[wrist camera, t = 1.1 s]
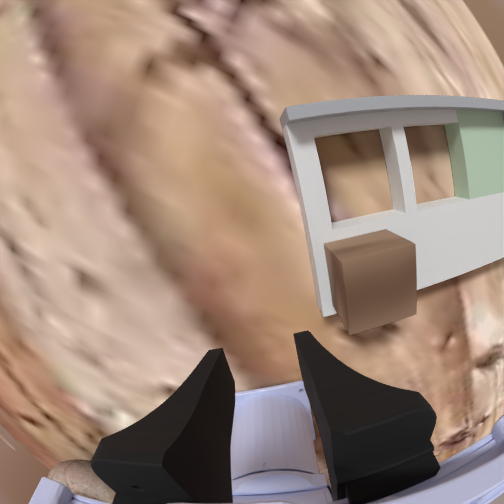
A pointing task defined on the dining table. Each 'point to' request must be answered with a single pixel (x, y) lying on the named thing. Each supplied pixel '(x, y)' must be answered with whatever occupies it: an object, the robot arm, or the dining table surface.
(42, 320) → the dining table surface
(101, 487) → the cooking pot
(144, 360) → the dining table surface
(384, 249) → the walnut block
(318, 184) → the board
